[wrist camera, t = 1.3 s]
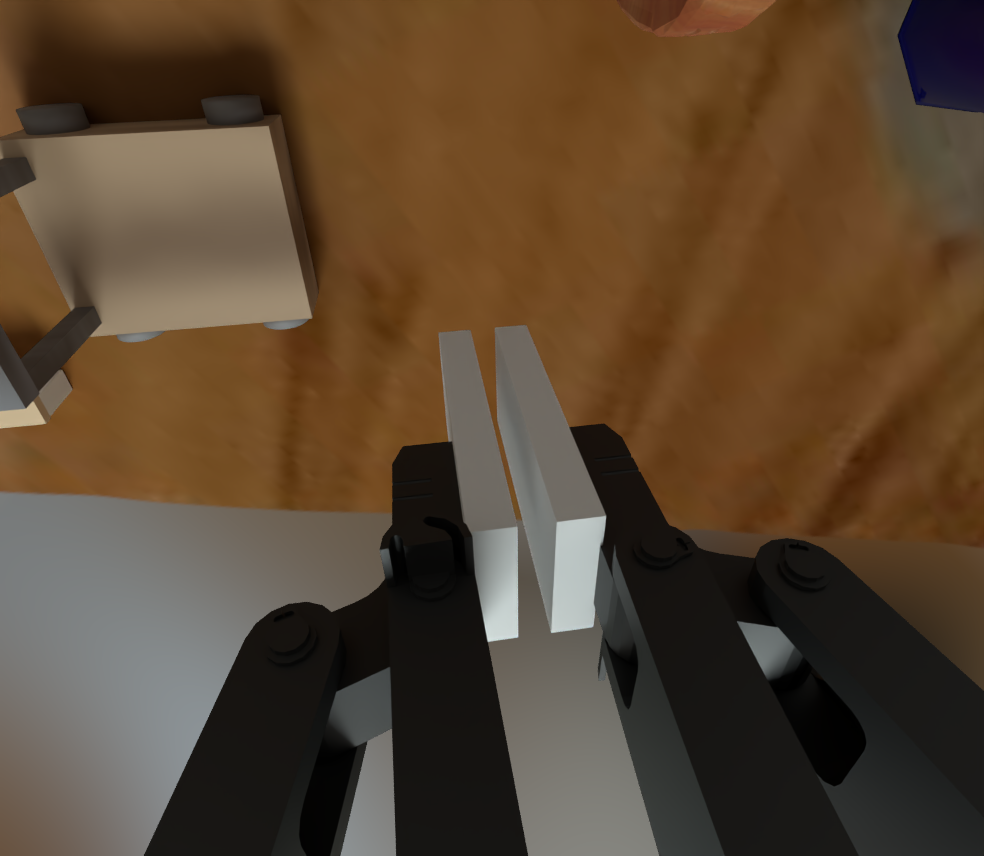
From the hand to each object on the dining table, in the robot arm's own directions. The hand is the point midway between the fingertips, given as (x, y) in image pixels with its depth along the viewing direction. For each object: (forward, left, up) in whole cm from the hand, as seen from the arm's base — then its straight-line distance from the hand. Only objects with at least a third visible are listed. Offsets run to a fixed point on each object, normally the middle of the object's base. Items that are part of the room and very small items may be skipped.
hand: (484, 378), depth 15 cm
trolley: (0, -12, -17) cm, 20 cm away
